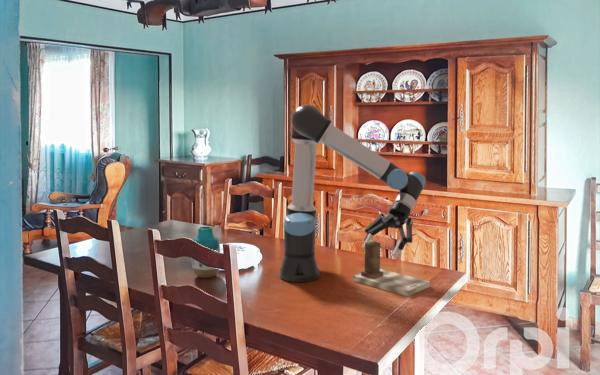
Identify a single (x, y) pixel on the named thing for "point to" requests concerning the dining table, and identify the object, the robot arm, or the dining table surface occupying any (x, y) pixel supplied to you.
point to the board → (394, 283)
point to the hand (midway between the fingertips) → (378, 252)
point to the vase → (211, 242)
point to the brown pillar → (372, 260)
